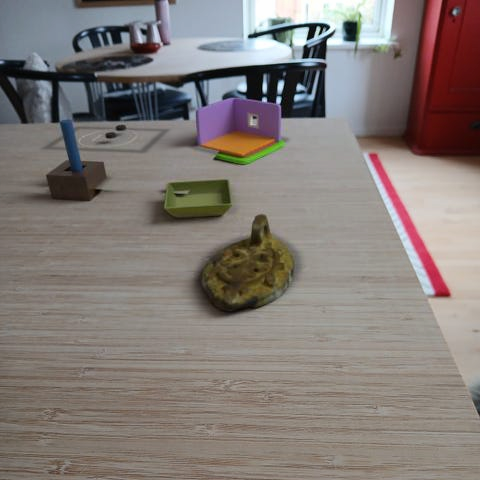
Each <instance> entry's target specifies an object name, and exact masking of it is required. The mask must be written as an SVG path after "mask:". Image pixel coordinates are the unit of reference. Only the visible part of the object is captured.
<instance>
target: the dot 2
mask: <svg viewBox="0 0 480 480" xmlns="http://www.w3.org/2000/svg"><path fill="white" fill-rule="evenodd" d="M115 129H116V130H115V131H117V132H123V131H124V130H127V126H126V125H125V124H118V125H116V126H115Z"/></svg>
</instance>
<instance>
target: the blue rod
mask: <svg viewBox="0 0 480 480" xmlns="http://www.w3.org/2000/svg"><path fill="white" fill-rule="evenodd" d="M59 125H60V130H61V134H62V139H63V142H64V146H65V150H66V155H67V160H69V163H70V167H71V171H73V172H79V171H81V170H82V169H83V168H82V163H81V161H82V159H81V155H80V151H79V146H78V141H77V138H76V133H75V128H74V124H73V120H72V119H62V120H59Z"/></svg>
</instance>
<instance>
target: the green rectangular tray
mask: <svg viewBox="0 0 480 480" xmlns="http://www.w3.org/2000/svg"><path fill="white" fill-rule="evenodd" d="M231 188H232V187H231V181H230V179H226V178H222V179H221V178H220V179H204V180H202V179H201V180H187V181H169V182H167V183H166V186H165V196H164V203H163V204H164V205H163V208H164V210H166V212H167V213H168V214H169V215H171V216H172V217H175V218H176V219H185V218H201V217H216V216H224V215H225V214H226V213H227V212H228V211H229V210H230V209H231V207H232V206H233V204H234V202H233V196H232V195H233V194H232V189H231ZM186 191H188V192H187V193H182V192H186ZM179 192H181V193H179Z"/></svg>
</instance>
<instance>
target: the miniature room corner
mask: <svg viewBox="0 0 480 480" xmlns="http://www.w3.org/2000/svg"><path fill="white" fill-rule="evenodd" d="M254 117H255V118H256V123H253V121H254V119H253V118H254ZM195 127H196V138H197V145H198V146H199V147H202V148H207V149H211V150H215V151H217V153H216V154H215V156H214V157H213V158H214V159H218V160H222V161H225V162H229V163H234V164H239V165H247V164H249V163H253V162H254V161H257V160H259V159H261V158H263V157H265V156H267V155H269V154H271V153H273V152H275V151H277V150H279V149H281V148H283V147H285V145H286V142H285V141H284V140H282V139H281V138H282V106H281V104H279V103H274V102H269V101H268V102H267V101H263V100H262V101H261V100H255V99H248V98H242V97H229V98H226V99H225V98H224V99H222V100H219V101H216V102H213V103H211V104H208V105H205V106H202V107H200V108H198V109H196V110H195Z"/></svg>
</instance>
